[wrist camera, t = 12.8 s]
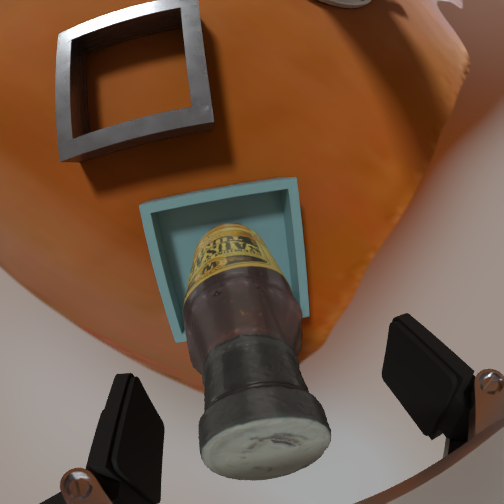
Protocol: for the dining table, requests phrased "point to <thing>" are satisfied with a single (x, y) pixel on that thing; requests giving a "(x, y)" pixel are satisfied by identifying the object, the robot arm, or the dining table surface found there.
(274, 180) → the teal tray
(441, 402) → the robot arm
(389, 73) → the dining table surface
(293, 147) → the dining table surface
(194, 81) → the steel collar
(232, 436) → the sauce bottle
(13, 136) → the dining table surface
